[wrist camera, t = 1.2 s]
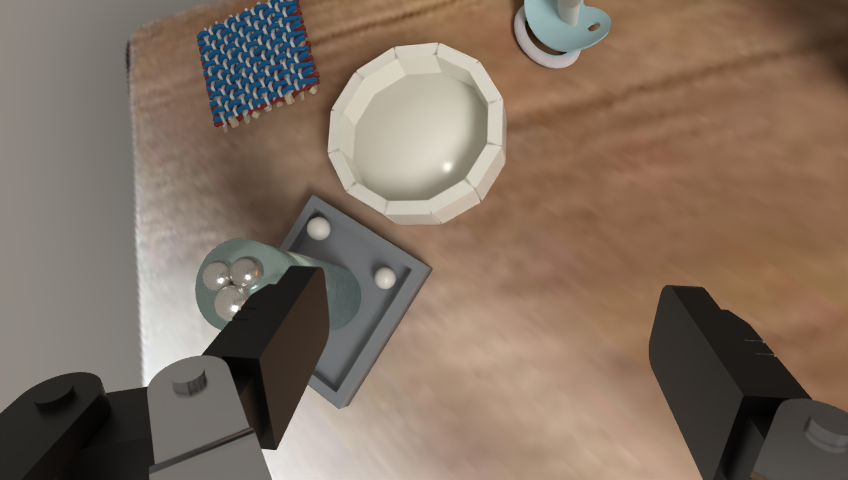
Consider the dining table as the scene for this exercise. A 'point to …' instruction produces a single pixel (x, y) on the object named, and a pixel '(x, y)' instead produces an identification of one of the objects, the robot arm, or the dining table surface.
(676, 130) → the dining table surface
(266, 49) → the woven mat
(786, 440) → the robot arm
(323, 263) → the teal cylinder
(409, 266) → the parts tray
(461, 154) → the bowl
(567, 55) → the pacifier
